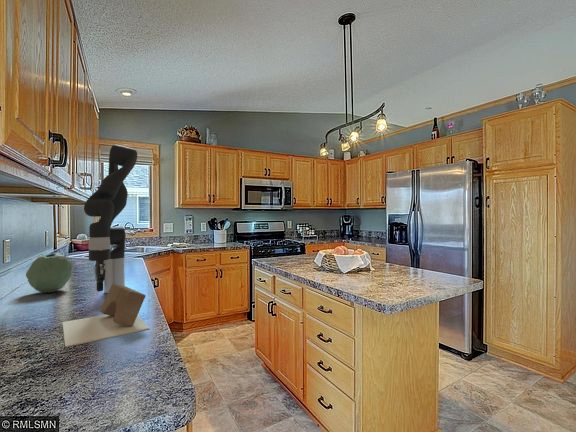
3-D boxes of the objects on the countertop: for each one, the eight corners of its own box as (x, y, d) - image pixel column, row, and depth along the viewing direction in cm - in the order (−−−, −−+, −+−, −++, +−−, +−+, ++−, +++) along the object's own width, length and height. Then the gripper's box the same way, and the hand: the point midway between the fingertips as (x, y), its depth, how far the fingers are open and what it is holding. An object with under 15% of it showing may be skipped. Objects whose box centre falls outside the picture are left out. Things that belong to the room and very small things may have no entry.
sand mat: (62, 323, 109) (62, 322, 109) (133, 310, 123) (133, 309, 123) (65, 347, 89) (65, 346, 89) (149, 329, 103) (149, 327, 103)
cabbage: (25, 292, 156) (25, 253, 156) (70, 286, 168) (70, 250, 168) (26, 298, 144) (26, 256, 144) (74, 291, 156) (74, 252, 157)
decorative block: (113, 314, 118) (132, 327, 104) (98, 311, 114) (116, 323, 101) (126, 286, 122) (146, 295, 108) (112, 282, 118) (131, 291, 104)
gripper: (87, 247, 127) (87, 289, 127) (90, 250, 116) (90, 295, 116) (107, 246, 131) (108, 286, 131) (112, 248, 121) (113, 292, 121)
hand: (99, 290), depth 124 cm, fingers closed
